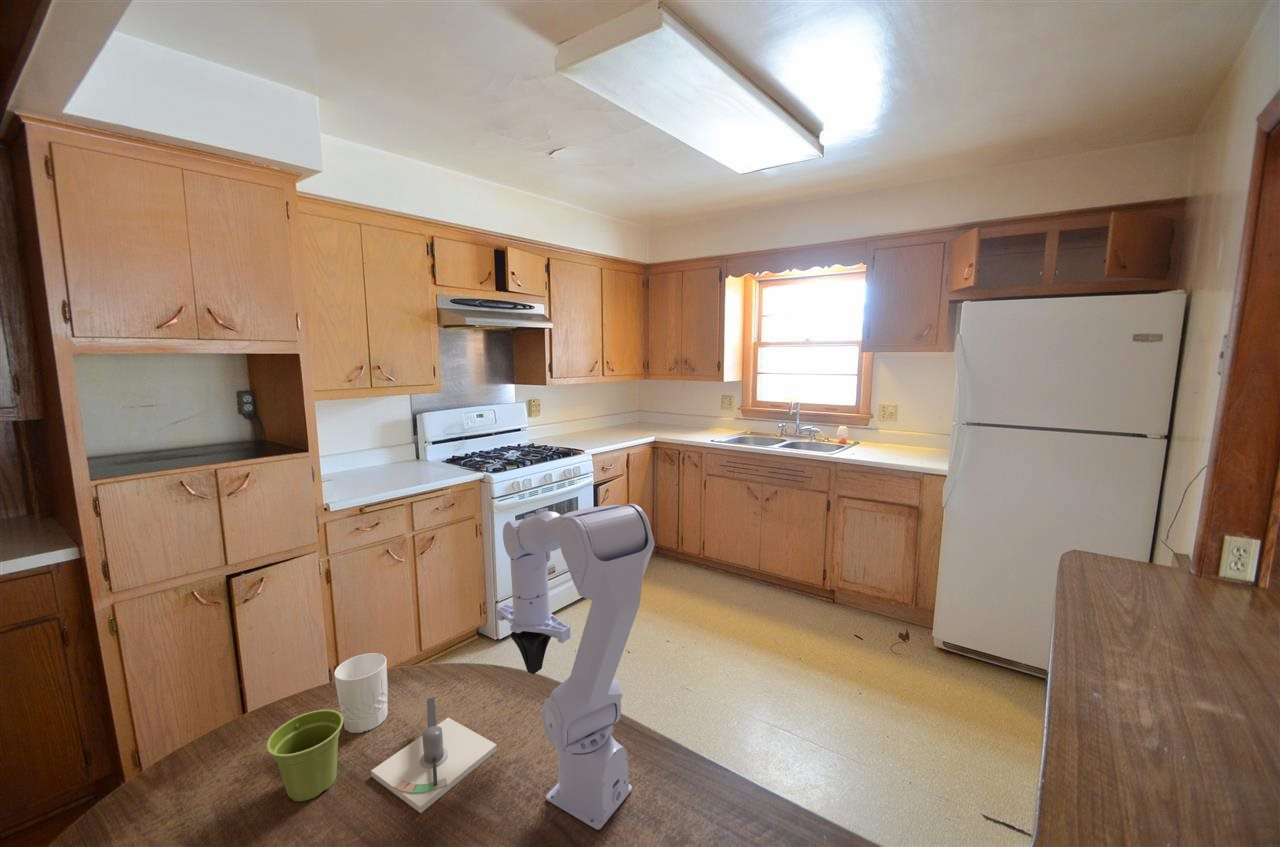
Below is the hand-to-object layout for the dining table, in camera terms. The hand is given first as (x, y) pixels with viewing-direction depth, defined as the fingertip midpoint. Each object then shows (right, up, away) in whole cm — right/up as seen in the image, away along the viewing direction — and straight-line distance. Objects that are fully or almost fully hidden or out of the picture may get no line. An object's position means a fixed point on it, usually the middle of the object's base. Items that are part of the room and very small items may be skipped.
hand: (534, 670), depth 86 cm
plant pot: (-31, -13, -9) cm, 34 cm away
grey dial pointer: (-15, -10, -5) cm, 18 cm away
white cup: (-30, -11, +4) cm, 32 cm away
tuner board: (-14, -12, -6) cm, 19 cm away
